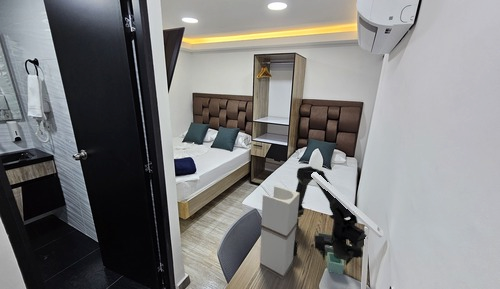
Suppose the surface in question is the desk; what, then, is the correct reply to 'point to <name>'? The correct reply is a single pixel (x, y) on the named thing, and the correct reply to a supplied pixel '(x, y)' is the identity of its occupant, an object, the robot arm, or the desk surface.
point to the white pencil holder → (278, 230)
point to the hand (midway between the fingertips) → (334, 261)
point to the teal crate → (334, 263)
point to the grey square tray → (327, 238)
